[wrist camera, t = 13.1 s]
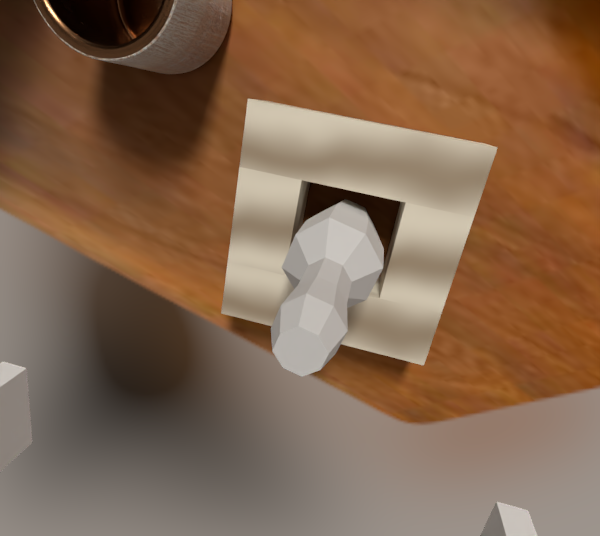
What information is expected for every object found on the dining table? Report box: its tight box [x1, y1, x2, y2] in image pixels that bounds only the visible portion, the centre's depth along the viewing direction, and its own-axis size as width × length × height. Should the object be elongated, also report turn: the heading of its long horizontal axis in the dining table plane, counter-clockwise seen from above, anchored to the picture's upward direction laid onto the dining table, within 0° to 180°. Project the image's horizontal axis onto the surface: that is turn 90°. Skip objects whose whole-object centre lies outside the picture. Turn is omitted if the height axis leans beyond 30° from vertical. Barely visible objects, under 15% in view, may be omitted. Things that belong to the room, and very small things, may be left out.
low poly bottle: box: [271, 199, 384, 377], centre depth 28 cm, size 6×6×22 cm
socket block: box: [221, 99, 498, 365], centre depth 36 cm, size 18×18×5 cm
